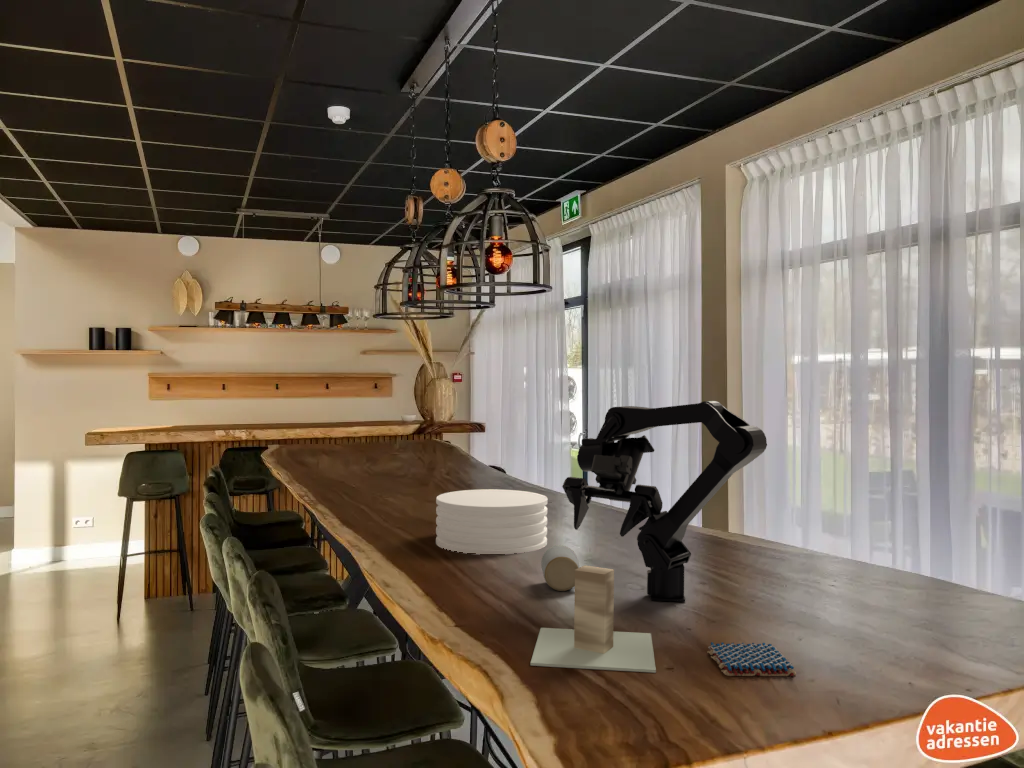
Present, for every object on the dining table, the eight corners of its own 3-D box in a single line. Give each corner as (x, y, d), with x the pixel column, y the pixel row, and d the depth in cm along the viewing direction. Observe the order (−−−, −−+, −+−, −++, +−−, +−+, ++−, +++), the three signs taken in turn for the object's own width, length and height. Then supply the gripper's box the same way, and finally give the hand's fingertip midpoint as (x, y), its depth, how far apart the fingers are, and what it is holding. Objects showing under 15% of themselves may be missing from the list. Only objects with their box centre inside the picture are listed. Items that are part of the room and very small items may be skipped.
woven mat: (772, 654, 122) (772, 640, 122) (798, 681, 111) (798, 666, 111) (705, 653, 121) (705, 640, 121) (724, 680, 111) (724, 666, 111)
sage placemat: (650, 635, 128) (650, 633, 128) (655, 672, 112) (655, 669, 112) (540, 630, 130) (540, 627, 130) (530, 665, 114) (530, 662, 114)
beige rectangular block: (583, 641, 124) (584, 565, 124) (613, 646, 121) (614, 569, 121) (574, 647, 121) (574, 569, 121) (604, 653, 118) (604, 574, 118)
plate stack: (419, 551, 188) (420, 503, 188) (455, 529, 215) (456, 487, 215) (534, 558, 181) (534, 509, 181) (556, 535, 209) (556, 491, 208)
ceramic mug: (543, 592, 153) (544, 553, 153) (540, 581, 161) (541, 544, 161) (597, 593, 153) (598, 554, 153) (592, 582, 161) (593, 545, 161)
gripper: (568, 435, 154) (539, 499, 144) (659, 443, 144) (635, 512, 135) (584, 471, 161) (557, 534, 151) (672, 480, 151) (649, 548, 142)
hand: (597, 531), depth 145 cm, fingers open, 9 cm apart
